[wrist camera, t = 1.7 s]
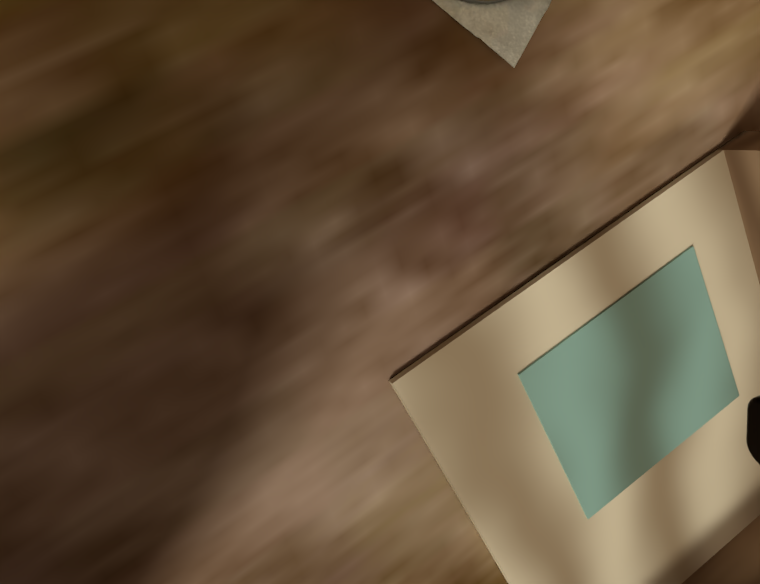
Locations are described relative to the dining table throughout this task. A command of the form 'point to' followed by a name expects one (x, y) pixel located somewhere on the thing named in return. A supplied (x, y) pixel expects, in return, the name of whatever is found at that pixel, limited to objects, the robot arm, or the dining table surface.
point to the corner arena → (615, 396)
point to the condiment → (499, 22)
